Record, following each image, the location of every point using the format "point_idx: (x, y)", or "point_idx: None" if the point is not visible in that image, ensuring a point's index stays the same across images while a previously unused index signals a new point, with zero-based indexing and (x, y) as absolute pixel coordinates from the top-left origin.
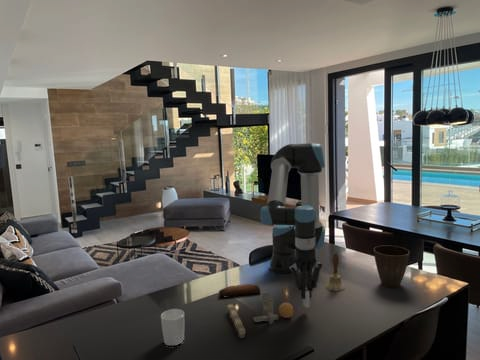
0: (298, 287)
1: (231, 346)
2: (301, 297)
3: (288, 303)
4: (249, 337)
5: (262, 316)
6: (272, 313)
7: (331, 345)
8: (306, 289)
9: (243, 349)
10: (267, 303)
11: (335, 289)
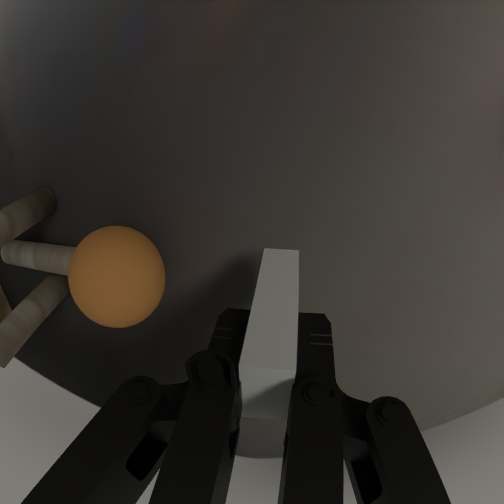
0: (138, 447)
1: None
2: (226, 310)
3: (108, 308)
4: None
5: (23, 260)
6: (43, 320)
7: (255, 441)
8: (276, 391)
9: (27, 355)
10: (2, 246)
11: None
